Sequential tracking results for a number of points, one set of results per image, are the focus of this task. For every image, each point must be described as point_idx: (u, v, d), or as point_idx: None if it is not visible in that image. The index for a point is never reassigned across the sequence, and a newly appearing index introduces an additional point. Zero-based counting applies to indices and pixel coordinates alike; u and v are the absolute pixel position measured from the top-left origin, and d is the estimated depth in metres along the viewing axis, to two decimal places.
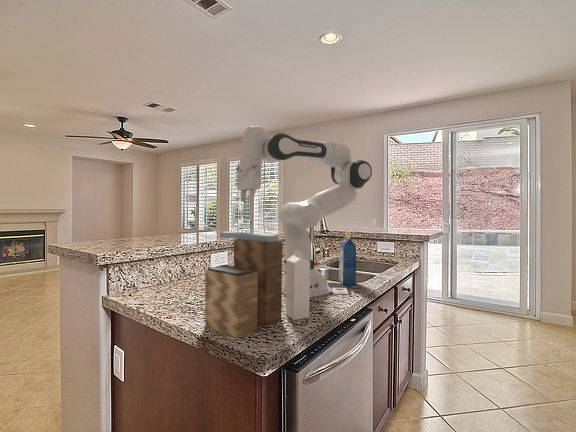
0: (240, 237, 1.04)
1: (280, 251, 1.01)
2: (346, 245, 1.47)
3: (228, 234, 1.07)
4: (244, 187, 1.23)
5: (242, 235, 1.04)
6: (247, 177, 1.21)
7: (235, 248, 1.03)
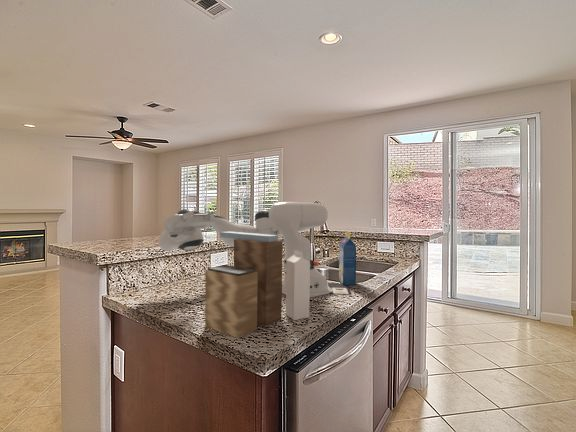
0: (240, 237, 1.04)
1: (280, 251, 1.01)
2: (346, 245, 1.47)
3: (228, 234, 1.07)
4: None
5: (242, 235, 1.04)
6: None
7: (235, 248, 1.03)
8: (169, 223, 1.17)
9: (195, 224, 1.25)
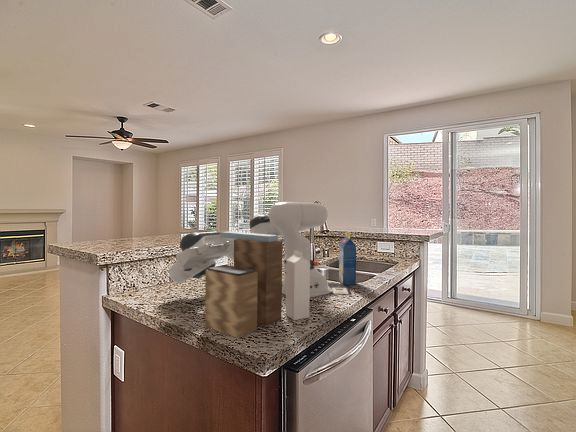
0: (240, 237, 1.04)
1: (280, 251, 1.01)
2: (346, 245, 1.47)
3: (228, 234, 1.07)
4: None
5: (242, 235, 1.04)
6: None
7: (235, 248, 1.03)
8: (184, 258, 1.09)
9: (210, 257, 1.17)
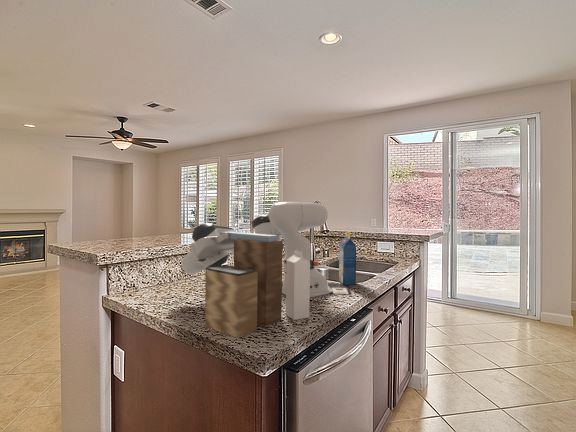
0: (240, 237, 1.04)
1: (280, 251, 1.01)
2: (346, 245, 1.47)
3: None
4: None
5: (242, 235, 1.04)
6: None
7: (235, 248, 1.03)
8: (198, 247, 1.05)
9: (225, 247, 1.13)
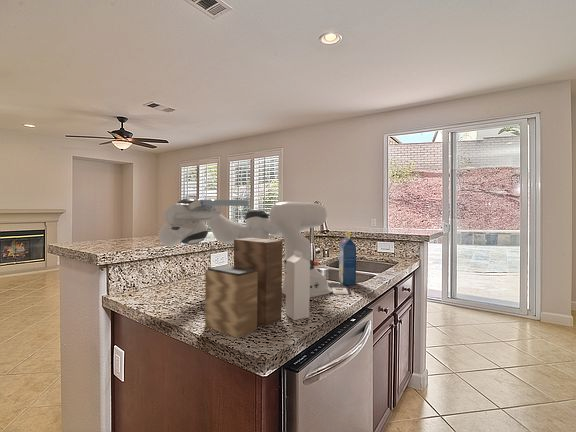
0: (211, 203, 1.03)
1: (280, 251, 1.01)
2: (346, 245, 1.47)
3: None
4: None
5: (213, 201, 1.03)
6: None
7: (235, 248, 1.03)
8: (170, 213, 1.04)
9: (199, 216, 1.12)
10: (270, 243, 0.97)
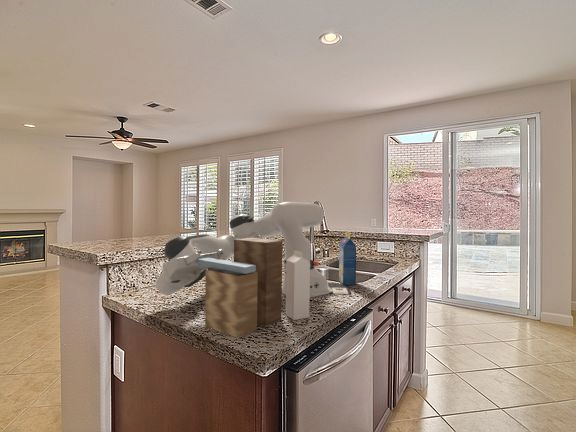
0: (215, 266, 0.95)
1: (280, 251, 1.01)
2: (346, 245, 1.47)
3: (203, 262, 0.99)
4: (201, 254, 1.04)
5: (217, 264, 0.95)
6: None
7: (235, 248, 1.03)
8: (170, 268, 0.96)
9: (201, 266, 1.04)
10: (270, 243, 0.97)
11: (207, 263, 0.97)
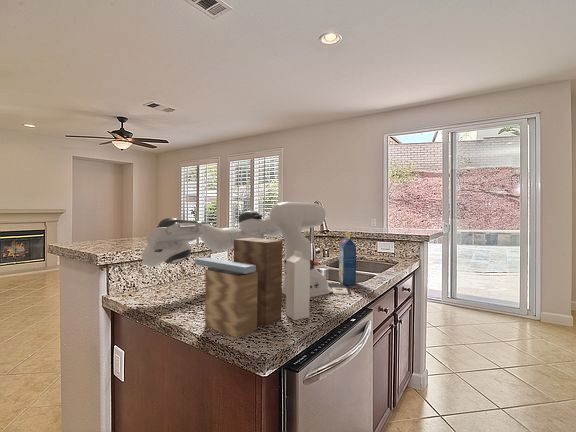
0: (215, 266, 0.95)
1: (280, 251, 1.01)
2: (346, 245, 1.47)
3: (203, 262, 0.99)
4: None
5: (217, 264, 0.95)
6: None
7: (235, 248, 1.03)
8: (152, 237, 1.07)
9: (181, 237, 1.15)
10: (270, 243, 0.97)
11: (207, 263, 0.97)
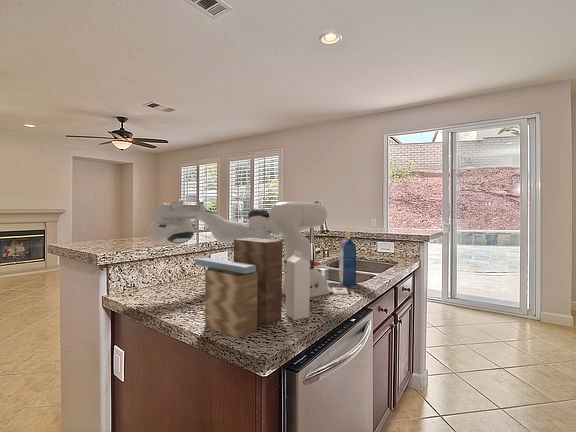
0: (215, 266, 0.95)
1: (280, 251, 1.01)
2: (346, 245, 1.47)
3: (203, 262, 0.99)
4: None
5: (217, 264, 0.95)
6: None
7: (235, 248, 1.03)
8: (157, 213, 1.15)
9: (184, 215, 1.23)
10: (270, 243, 0.97)
11: (207, 263, 0.97)
